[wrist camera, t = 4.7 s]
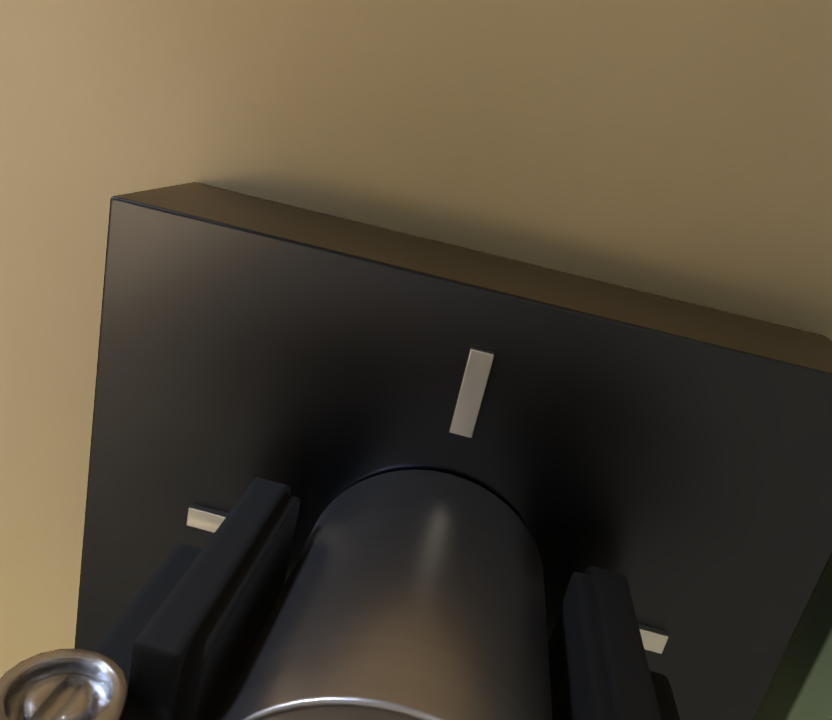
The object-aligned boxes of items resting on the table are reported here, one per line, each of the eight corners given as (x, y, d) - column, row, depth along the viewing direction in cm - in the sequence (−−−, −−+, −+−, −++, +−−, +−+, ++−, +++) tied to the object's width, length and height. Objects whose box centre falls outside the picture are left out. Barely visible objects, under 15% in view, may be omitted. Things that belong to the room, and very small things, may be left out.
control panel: (142, 609, 17) (63, 711, 14) (193, 181, 14) (103, 195, 11) (649, 750, 16) (678, 888, 13) (825, 335, 13) (916, 398, 10)
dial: (289, 639, 13) (146, 961, 8) (329, 440, 12) (188, 675, 7) (508, 700, 13) (503, 1070, 8) (573, 504, 11) (619, 798, 6)
